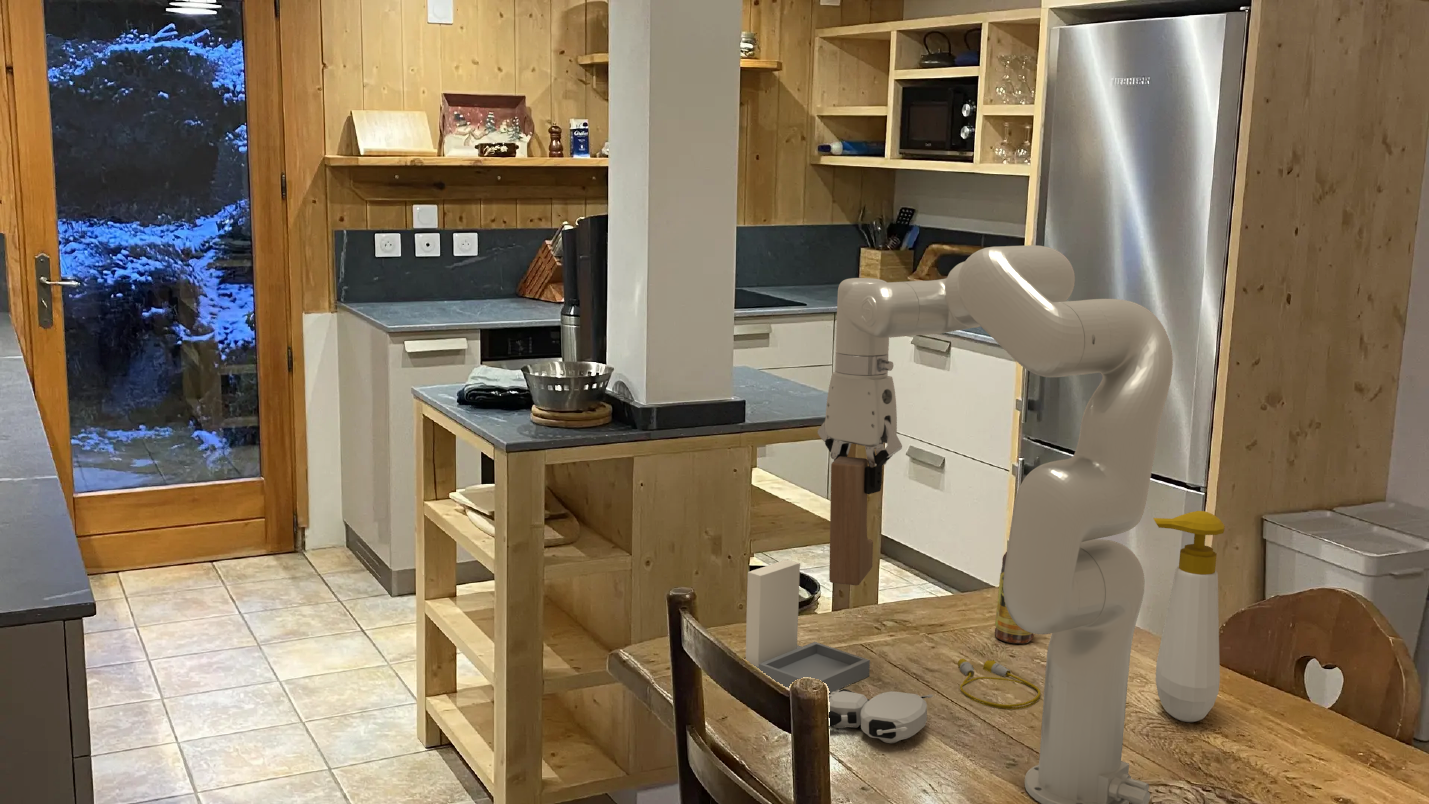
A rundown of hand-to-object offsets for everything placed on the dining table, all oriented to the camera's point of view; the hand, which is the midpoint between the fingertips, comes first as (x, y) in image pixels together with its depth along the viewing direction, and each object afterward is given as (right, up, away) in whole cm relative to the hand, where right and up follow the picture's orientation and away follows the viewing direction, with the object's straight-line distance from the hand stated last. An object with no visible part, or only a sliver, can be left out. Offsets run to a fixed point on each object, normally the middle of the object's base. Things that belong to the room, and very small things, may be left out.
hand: (857, 487), depth 195 cm
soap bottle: (+44, -31, -7) cm, 54 cm away
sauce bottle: (+27, -26, +20) cm, 43 cm away
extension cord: (+21, -30, 0) cm, 36 cm away
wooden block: (-1, -13, +3) cm, 14 cm away
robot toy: (0, -32, -15) cm, 35 cm away
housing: (-8, -28, +4) cm, 29 cm away
